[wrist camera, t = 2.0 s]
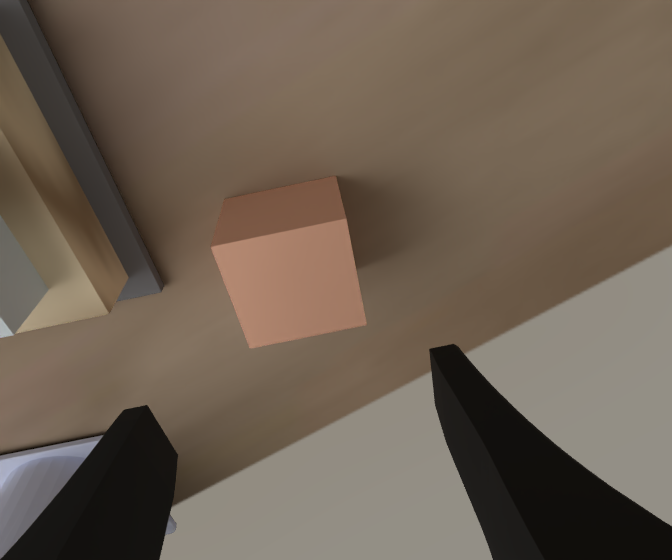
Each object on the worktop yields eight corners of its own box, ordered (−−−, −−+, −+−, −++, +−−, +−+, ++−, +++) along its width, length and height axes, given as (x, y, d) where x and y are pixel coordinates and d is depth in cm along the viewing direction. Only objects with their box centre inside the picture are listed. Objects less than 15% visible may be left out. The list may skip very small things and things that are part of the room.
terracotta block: (354, 269, 21) (366, 325, 17) (256, 289, 21) (250, 348, 18) (335, 174, 18) (346, 218, 15) (224, 198, 18) (210, 246, 15)
